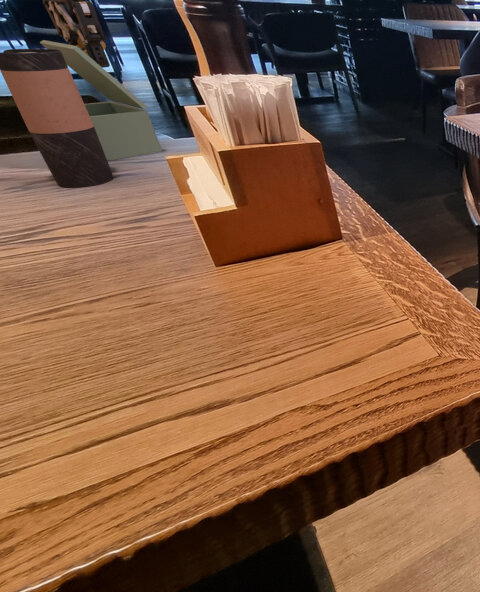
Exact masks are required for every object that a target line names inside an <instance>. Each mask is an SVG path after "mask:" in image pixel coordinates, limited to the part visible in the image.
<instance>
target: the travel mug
mask: <svg viewBox="0 0 480 592" xmlns="http://www.w3.org/2000/svg"><path fill="white" fill-rule="evenodd" d="M69 68H70V67H69V66H67V64H66V61H65V59H64V57H63V55H62V53H61V51H60V50H56V49H47V48H10V49H4V50H3V51H2V52H0V74H2V77H3V79H4V82H5V84H6V86H7V88H8V90H9V92H10V94H11V96H12V99H13V100H14V103H15V104H16V107H17V108H18V111H19V113H20V116H21V118H22V119H23V122H24V124H25V126H26V128H27V130H28V132H29V134H30V136H31V138H32V140H33V142H34V144H35V145H36V147H37V149H38V151H39V153H40V155H41V157H42V158H43V161H44V162H45V164H46V166H47V168H48V170H49V172H50V173H51V175H52V177H53V180H54V181H55V183H56V185H58V187H60V188H84V187H91V186H97V185H102V184H105V183H108V182H110V181H112V180H113V179H114V175H113V173H112V170H111V167H110V164H109V162H108V161H109V160H108V161H107V159H106V156H105V154H104V151H103V148H102V146H101V143H100V141H99V138H98V136H97V133H96V130H95V128H94V125H93V123H92V121H91V118H90V116H89V114H88V112H87V109H86V107H85V105H84V104H85V102H84V100H83V98H82V96H81V94H80V91H79V89H78V87H77V84H76V81H75V80H74V78H73V75H72V73H71V71H70V69H69Z"/></svg>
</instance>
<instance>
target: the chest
mask: <svg viewBox="0 0 480 592" xmlns="http://www.w3.org/2000/svg"><path fill="white" fill-rule="evenodd" d="M84 105H85V107H86V109H87V112H88V114H89V116H90V118H91V121H92V123H93V125H94V128H95V130H96V133H97V136H98V138H99V141H100V143H101V146H102V148H103V151H104V154H105V156H106V159H107V161H113V160H119V159H125V158H133V157H137V156H143V155H149V154H155V153H156V154H157V153H162V152H163V150H162V146H161V144H160V142H159V138H158V136H157V134H156V131H155V128H154V126H153V123H152V120H151V117H150V115H149V112H148V110H146V109H141V108H137V107H133V106H130V105H126V104H122V103H119V102H115V101H111V100H110V101H103V102H102V101H101V102H92V103H84Z"/></svg>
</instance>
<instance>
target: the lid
mask: <svg viewBox="0 0 480 592" xmlns="http://www.w3.org/2000/svg"><path fill="white" fill-rule="evenodd" d="M102 42H103V43H102V44H101V45H102V47H103V49H104V51H105V50H106V48H107V45H106V43H105V41H104V40H102ZM77 43H78V45H76V46H73V45H69V43H61V42H56V41H51V40H45V39H43V40H41V41H40V42H39V44H40V45H41V46H42V47H44V49H56V50H60V51H61V53H62V55H63V57H64V59H65V61H66V64H67V66H68V68H70V69H71V70H72V71H74V73H76V74H77V75H78V76H79V77H81V78H82V79H83V80H84V81H86V82H87V83H88V84H90V85H91V86H92V87H93V88H94V89H96V91H98V92H99V93H100V94H102V96H104V97H105V98H106V99H108V100H109V101H110V102H111V101H113V102H116V103H120V104H124V105H127V106H131V107H135V108H138V109H142V110H146V109H147V108H148V105H147V104H145V103H144V101H142V100H141V99H139V98H138V97H137V96H136V95H135V94H133V93H132V92H131V91H130V90H129V89H128V88H127V87H126V86H124V85H123V84H122V83H121V82H120V81H119V80H118V79H116V78H115V77H114V76H113V75H111V74H110V73H109V72H108V71H107V70H106V69H104V68H102V67H101V66H100V65H98V64H97V63H96V62H95V61H94V60H93V59H91V58H90V57H89V56H88V53H87V50H84V51H82V50H81V49H83V48H85V46H84V45H87V44H84V43H83V42H82V40H81V38H80V37H78V39H77Z"/></svg>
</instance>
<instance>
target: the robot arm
mask: <svg viewBox="0 0 480 592" xmlns="http://www.w3.org/2000/svg"><path fill="white" fill-rule="evenodd" d="M42 4H43V5H44V7H45V9H46V11H47V13H48V15H49V17H50V19H51V21H52V23H53V26H54V27H55V29H56V31H57V34H58V35H59V37H60V38H63V39H64V40H65V42H68V45H73V46H76V45H78V43H77V39H78V37H80V38H81V40H82V42H83V43H84V44H87V45H84V46H85V48H83V49H81V50H82V51H84V50H87V53H88V56H89V57H90V58H91V59H93V60H94V61H95V62H96V63H97V64H98V65H100V66H101V67H102V68H103V69H104V68H109V67H110V66H111V65H110V61H109V59H108V57H107V54H106V52H105V50H104V49H103V47H102V45H101V44H102V43H103V42H104V41H106V35H105V34H104V31H103V29H102V28H103V27H102V25H101V23H100V22H101V21H100V19H99V17H98V14H97V12H96V9H95V6H94V4H93V2H92V1H90V0H89V1H88V0H87V1H85V0H42ZM102 41H103V42H102Z"/></svg>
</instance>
